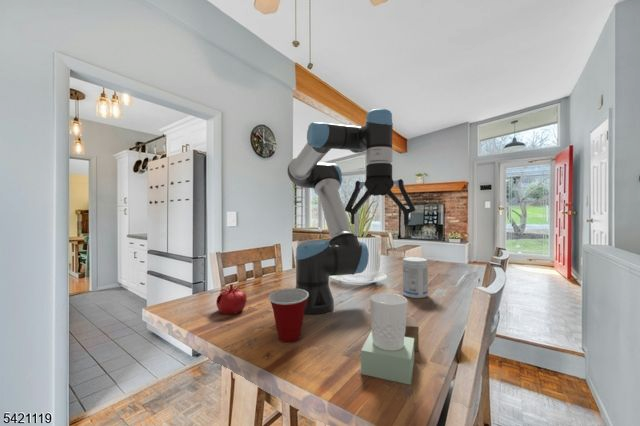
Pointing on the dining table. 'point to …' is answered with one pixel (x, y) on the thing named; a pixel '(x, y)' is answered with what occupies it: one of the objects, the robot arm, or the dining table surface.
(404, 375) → the base block
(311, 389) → the dining table surface
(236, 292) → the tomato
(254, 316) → the dining table surface
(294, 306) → the plastic cup
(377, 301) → the white cup
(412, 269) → the supplement tub
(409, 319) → the walnut cube
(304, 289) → the robot arm
